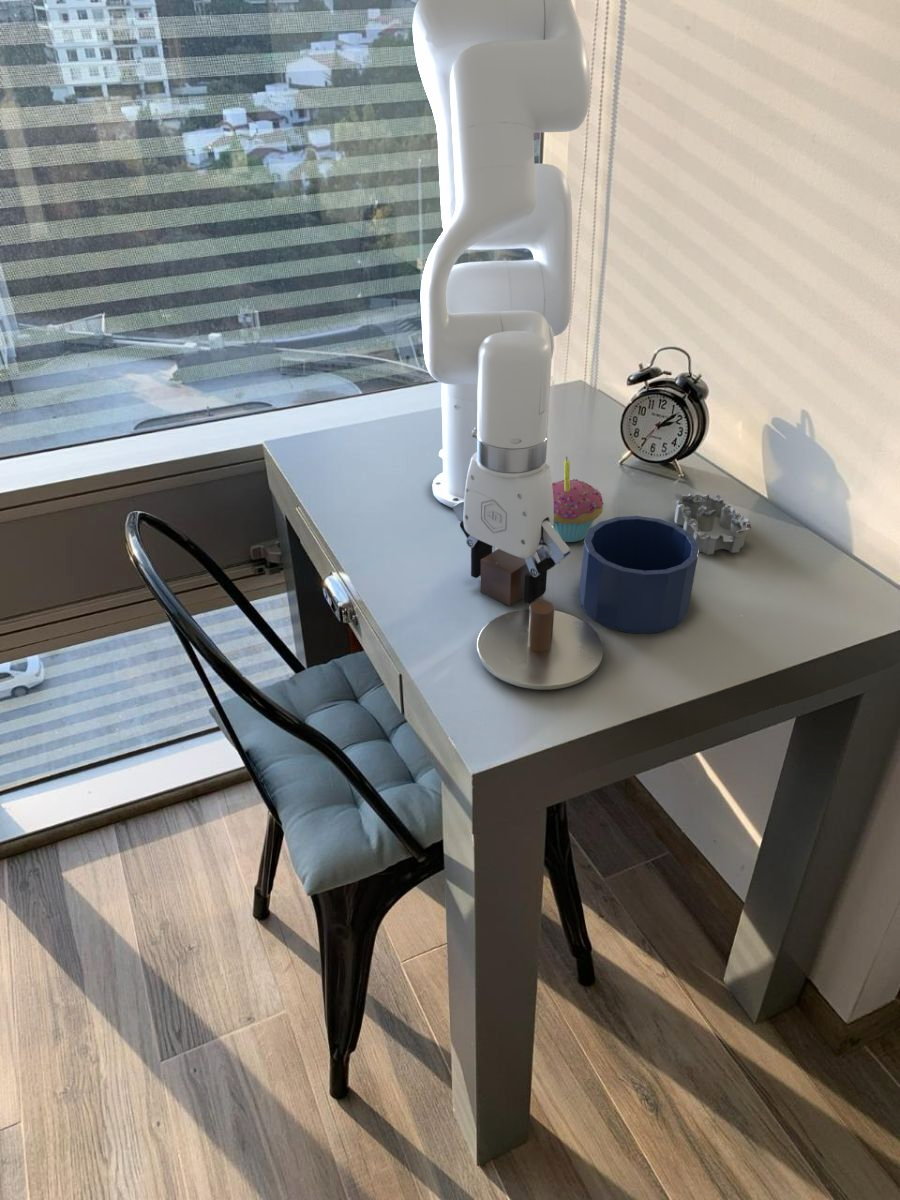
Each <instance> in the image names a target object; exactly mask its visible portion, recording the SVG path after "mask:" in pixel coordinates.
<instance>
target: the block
mask: <svg viewBox="0 0 900 1200" xmlns="http://www.w3.org/2000/svg"><path fill="white" fill-rule="evenodd" d="M528 572H529V569H528V567H527V564H526V562H525V559H524V558H519V557H516V556H514V555H511V554H509V553H507V552H504V551H502V550H500V549H498V548H496V549H495V550H494V551H492V553H491V554H489V555H487V556H486V557H484V558H483V559H481V576H480V581H479V583H480V587H479V588H480V593H482V594H484V595H486V596H487V597H490V598H492V599H494V600H496V601H497V602H500V603H502V604H503V605H506V606H508V607H511V606H512V605H514V604H516V603H517V602H519V601H520V600H521V599H524V589H525V575H526V574H527V573H528Z"/></svg>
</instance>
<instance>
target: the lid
mask: <svg viewBox="0 0 900 1200" xmlns="http://www.w3.org/2000/svg"><path fill="white" fill-rule="evenodd" d="M476 652H477V656H478V659H479V661H480V663H481V664H482V666H483V667H484V668H485V669H486V670H487V671H488V672H489V673H490V674H491V675H493V676H494V677H496V678H497V679H499V680H501V681H503V682H505V683H507V684H510V685H513V686H515V687H520V688H524V689H530V690H538V691H539V690H540V691H543V690H544V691H547V690H558V689H564V688H568V687H572V686H574V685H577V684H580V683H582V682H583V681H585V680H587V679H589V678H590V677H591V676H592V675H594V673H595V672H596V671H597V670H598V669H599V667H600V665H601V663H602V660H603V655H604V646H603V642H602V640H601V637H600V635H599V634H598V633H597V631H596V630H595V629H594V628H593V627H592V626H591V625H590V624H589V623H587V622H586V621H584V620H582V619H581V618H579V617H577V616H574V615H572V614H569V613H567V612H564V611H561V610H560V611H559V610H555V606H554V604H553V603H552V602H550V601H549V600H543V599H539V600H538V599H537V600H535V601H533V602H532V603H530V604H529V608H524V609H517V610H512V611H508V612H506V613H504V614H501V615H498V616H496V617H495V618H493V619H491V620H490V621H489V622H487V624H485V625H484V627H483V628H482V629H481V631H480V633H479V635H478V637H477V641H476Z"/></svg>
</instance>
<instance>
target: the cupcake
mask: <svg viewBox="0 0 900 1200" xmlns="http://www.w3.org/2000/svg"><path fill="white" fill-rule="evenodd" d="M570 465H571V464H570V460H569V459H568V455H565V460H564V461H563V466H564V468H563V473H564V475H563V477H564V479H562V480H559V481H555V482H552V487H553V502H554V523H553V528H554V529H555V531H556V532H557V533H558V534H559V536H560V537H561V538H562V540H563V541H564V542H565V543H576V542H580V541H582V540H583V539H585V537H586V534H587V532H588V530H589V529H591V526H592V524H593V522H595V520H597V518H599V517H600V516H601V515H602V514H603V512H604V501H603V500H604V499H603V496H602V493H601V492H600V491H599V490H598V488H595V487H594V486H592V485H590V484H589V483H587V482H585V481H583V480H579V479H577V478H576V479H575V478H573V479H570V478H571V477H570V476H571V475H570V474H571V473H570V469H571V467H570Z"/></svg>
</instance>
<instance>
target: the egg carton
mask: <svg viewBox="0 0 900 1200" xmlns="http://www.w3.org/2000/svg"><path fill="white" fill-rule="evenodd" d="M674 496H675V502H676V507H675V508H676V509H675V512H674V521H673V522H674V524H676V525H679V526H683V528H682V529H684V530H685V531H687V532H688V533H690V534H691V535H692V536H693V537H694V539H695V540H696V542H697V544H698V545H699V553H700V552H701V553H703V554H704V555H705V554H706V555H714V554H715V551H717V550H725V551H729V552H730V553H731V554H735V553H740V549H741V548H743V547H744V545H745V541H746V538H747V531H748V530H752V524H751V522H750V520H749V519H748V518H747V517H746V516H745V515H743V516H742V515H741V513H739V512H737V510H736V509H735V507H733V506H731V505H730V504H728V503H727V502H725V501H724V498H723V497H722V496H721V495H719V494H718V495H715V497H710V494H709V493H706V494H704V495H701V494H695V495H694V494H691V493H689V494H688V495H685V494H680V493H675V494H674Z"/></svg>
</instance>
